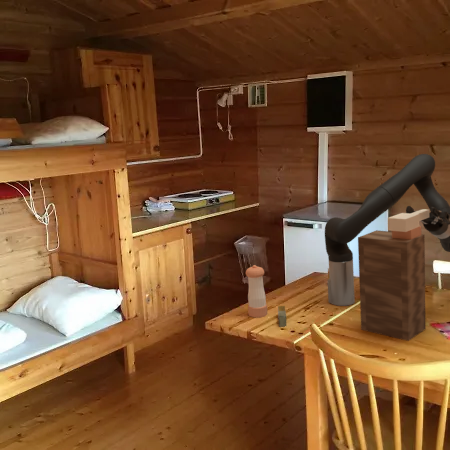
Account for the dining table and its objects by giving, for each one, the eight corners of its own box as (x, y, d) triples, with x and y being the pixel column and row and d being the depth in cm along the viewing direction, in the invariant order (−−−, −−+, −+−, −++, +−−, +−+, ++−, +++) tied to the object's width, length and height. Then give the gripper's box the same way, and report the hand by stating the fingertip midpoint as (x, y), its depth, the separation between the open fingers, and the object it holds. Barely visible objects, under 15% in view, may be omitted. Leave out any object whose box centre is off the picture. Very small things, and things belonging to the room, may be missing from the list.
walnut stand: (379, 318, 193) (376, 230, 187) (425, 328, 181) (424, 234, 175) (361, 329, 185) (357, 237, 179) (408, 340, 173) (406, 242, 167)
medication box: (286, 327, 193) (286, 316, 192) (279, 327, 193) (278, 316, 192) (285, 315, 205) (284, 305, 204) (277, 315, 205) (277, 305, 204)
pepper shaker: (244, 315, 207) (240, 266, 204) (256, 309, 213) (253, 261, 209) (259, 318, 202) (255, 268, 199) (271, 312, 208) (268, 264, 204)
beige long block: (417, 219, 186) (417, 207, 185) (434, 220, 181) (434, 208, 181) (388, 230, 172) (387, 217, 171) (405, 231, 168) (405, 219, 167)
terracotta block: (402, 233, 179) (402, 224, 179) (421, 235, 175) (421, 226, 174) (392, 237, 175) (391, 228, 174) (411, 239, 170) (411, 230, 169)
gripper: (421, 214, 197) (402, 197, 185) (461, 216, 187) (443, 199, 175) (416, 233, 195) (397, 218, 184) (456, 237, 185) (438, 221, 174)
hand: (419, 209), depth 180 cm, fingers open, 8 cm apart
